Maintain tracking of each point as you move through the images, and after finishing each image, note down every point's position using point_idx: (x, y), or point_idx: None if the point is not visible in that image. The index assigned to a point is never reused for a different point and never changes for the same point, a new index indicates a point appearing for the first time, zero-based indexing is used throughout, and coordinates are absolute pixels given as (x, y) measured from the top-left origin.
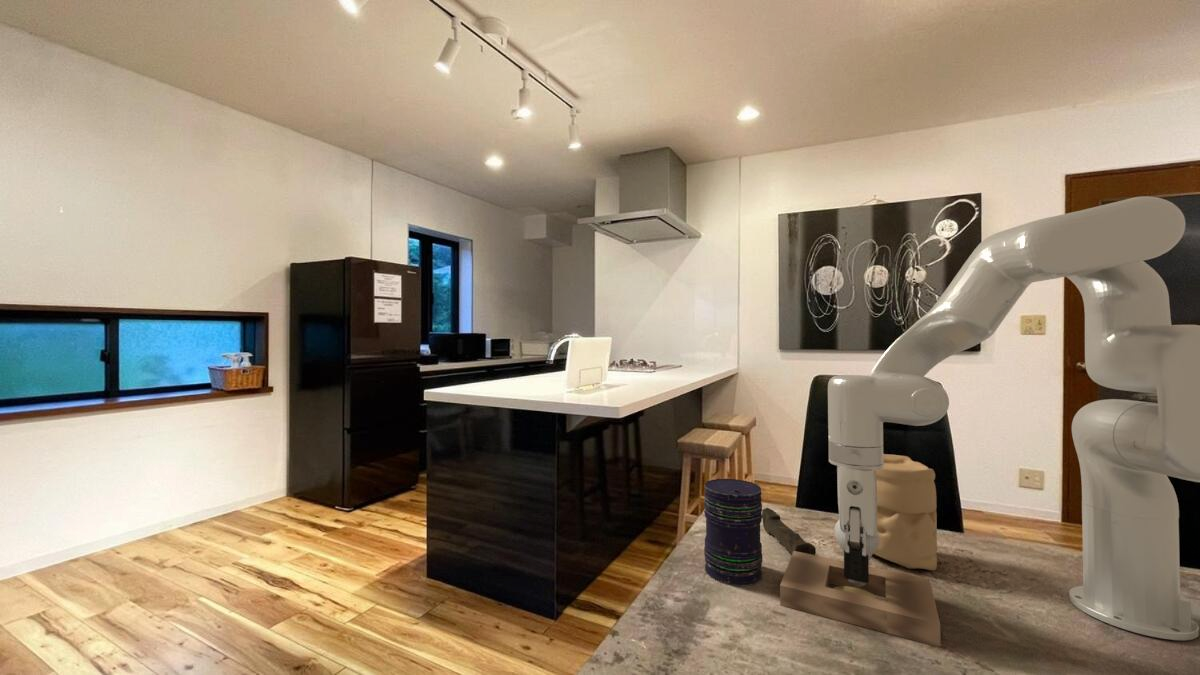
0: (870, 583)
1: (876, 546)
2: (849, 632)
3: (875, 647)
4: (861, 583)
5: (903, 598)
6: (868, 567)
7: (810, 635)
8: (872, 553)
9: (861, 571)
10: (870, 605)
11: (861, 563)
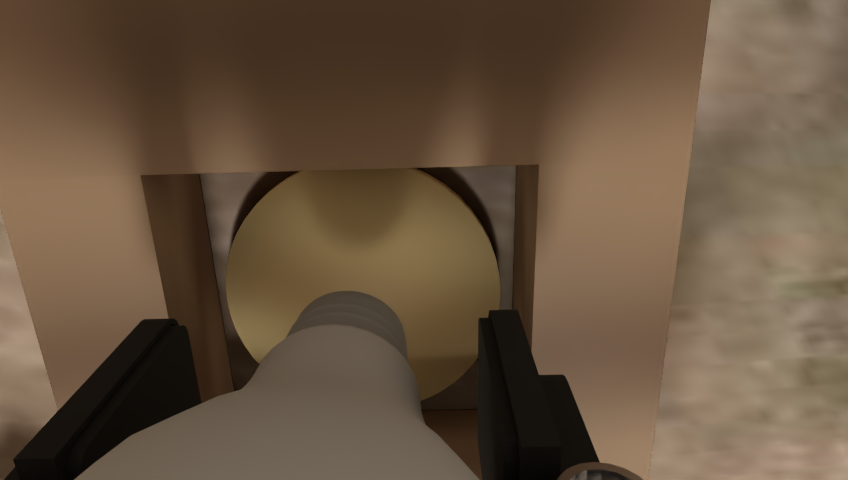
0: (184, 244)
1: (379, 424)
2: (708, 296)
3: (802, 184)
4: (399, 321)
5: (432, 54)
6: (515, 368)
7: (803, 432)
8: (374, 397)
9: (570, 400)
10: (655, 254)
11: (590, 449)
